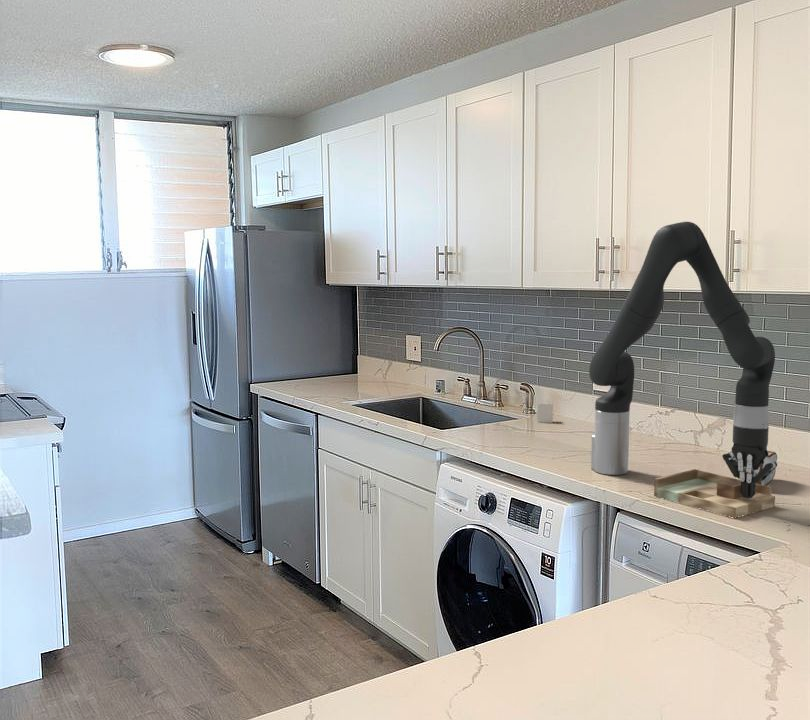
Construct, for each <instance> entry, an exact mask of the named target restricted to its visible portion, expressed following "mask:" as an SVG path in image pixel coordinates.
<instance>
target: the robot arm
mask: <svg viewBox="0 0 810 720" xmlns="http://www.w3.org/2000/svg"><path fill="white" fill-rule="evenodd" d="M644 258H645V259H644V261H643V264H642V266H641V268H640V270H639V273H638V275H637V276H636V278H635V280H634V283H633V285H632V287H631V289H630V290H629V292H628V294H627V295H626V298H625V300H624V301H623V303H622V306H621V308H620V310H619V312H618V315H617V317H616V318H615V320H614V323H613V324H612V326H611V327H610V329H609V331H608V332H607V335H606V336H605V338H604V340H603V341H602V342H601V344H600V345H599V347H598V348H597V349H596V350H595V352H594V353H593V354H594V355H593V356H592V358H591V361H590V363H589V366H588V367H589V369H588V376H589V379H590V381H591V382H592V383H593V384H594V385H596V386H600V387H609V389H608V391H607V392H606V393H605V394H603V395H601V396H599V397H598V398H596V400H595V403H594V408H595V409H594V435H593V434H592V436H591V449H590V450H591V453H590V455H591V456H590V460H591V461H590V469H591V470H593V471H594V472H596V473H598V474H602V475H610V476H611V475H612V476H614V475H615V476H619V475H621V476H622V475H625V474H628V473H629V449H630V447H629V445H630V413H631V411H630V410H631V404H632V401H633V395H634V383H635V382H634V381H635V363H634V360H633V357H632V355H630V353H628V352H626V350H627V349H628V348H630V347H631V346H632V345H633V344H635V343H636V342H637V341H639V340H640V339H641V338H643V337H644V336H645V335H647V334H648V333H649V331H651V330H652V328H653V326H654V325H655V324H656V322H657V319H658V318H659V316H660V315H661V313H662V310H663V307H664V304H665V302H664V301H665V295H664V294H665V293H664V286H665V283H666V281H667V279H668V277H669V275H670V274H671V272H672V271H673V270H674V267H675V266H676V265H677V264H678V263H681V262H685V261H686V262H687V263H688V264H689V266H690V267H691V268H692V269H693V272H695V274H696V276H697V279H698V281H699V285H700V290H701V297H702V301H703V305H704V308H705V310H706V312H707V314H708V315H709V317H710V318H711V320H712V321H713V323H714V325H716V327H717V329H718V331H720V333H721V335H722V338H723V342H724V344H725V346H726V348H727V351H728V353H729V355H730V357H731V358H732V359H733V361H734V362H735V363H736V365H737V366H739V367H740V368H742V374H741V378H739V379H738V380H737V382H736V386H735V401H734V403H735V404H734V410H733V416H732V417H733V420H732V442H733V445H732V446H731V450H730V451H729V452H726V453H724V454H722V458H723V461H724V462H725V464H726V465H727V467H728V469H729V471H730V473H731V474H732V477H733V478H736V479H739V480H740V481H741V494H742V497H744V498H748V499H749V498H752V497H753V496H754V495H755V487H756V482H759V481H763V480H764V479H765V478H766V477H767V476H768V475H769V474H770V473H771V472H772V471H773V470H774V469H775V468H777V467H778V462H777V461H776V462H772V461H771V460H770V458H769V457H768V452H767V451H768V449H767V448H768V445H769V428H770V427H769V426H770V411H769V409H770V408H769V403H770V402H769V401H770V398H769V397H770V382H771V380H772V376H773V372H774V368H775V367H774V366H775V361H776V352H775V351H776V350H775V347H774V345H773V343H772V342H771V341H770V340H769V339H768V338H766V337H763V336H755V335H754V333H753V330H752V329H751V328H750V325H749V324H750V323H751V319H750V316H749V315H748V313H747V312H746V309H744V307H743V306H742V304H741V303H740V300H739V299H738V298H737V297H736V295H735V293H734V292H733V291H732V289H731V288H730V285H729V283H728V282H727V281H726V278H725V276H724V274H723V272H722V271H721V270H722V269H720V266H719V264H718V262H717V259H716V257H715V255H714V252H712V249H711V246H710V244H709V242H708V240H707V237H706V236H705V234H704V232H703V230H702V229H701V228H700V226H699V225H698V224H696V223H695V222H692V221H681V222H676V223H675V222H674V223H671V224H667V225H663V226H662V227H660V228H659V229H658V230H657V231H656V232H655V234H654V236H653V237H652V240H651V242H650V244H649V247H648V250H647V253H646V255H645V257H644ZM763 462H764V464H763ZM762 464H763V467H764V468H763V469H762V470H761V471H760V466H761V465H762ZM759 471H760V472H759ZM758 472H759V473H758Z"/></svg>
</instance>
